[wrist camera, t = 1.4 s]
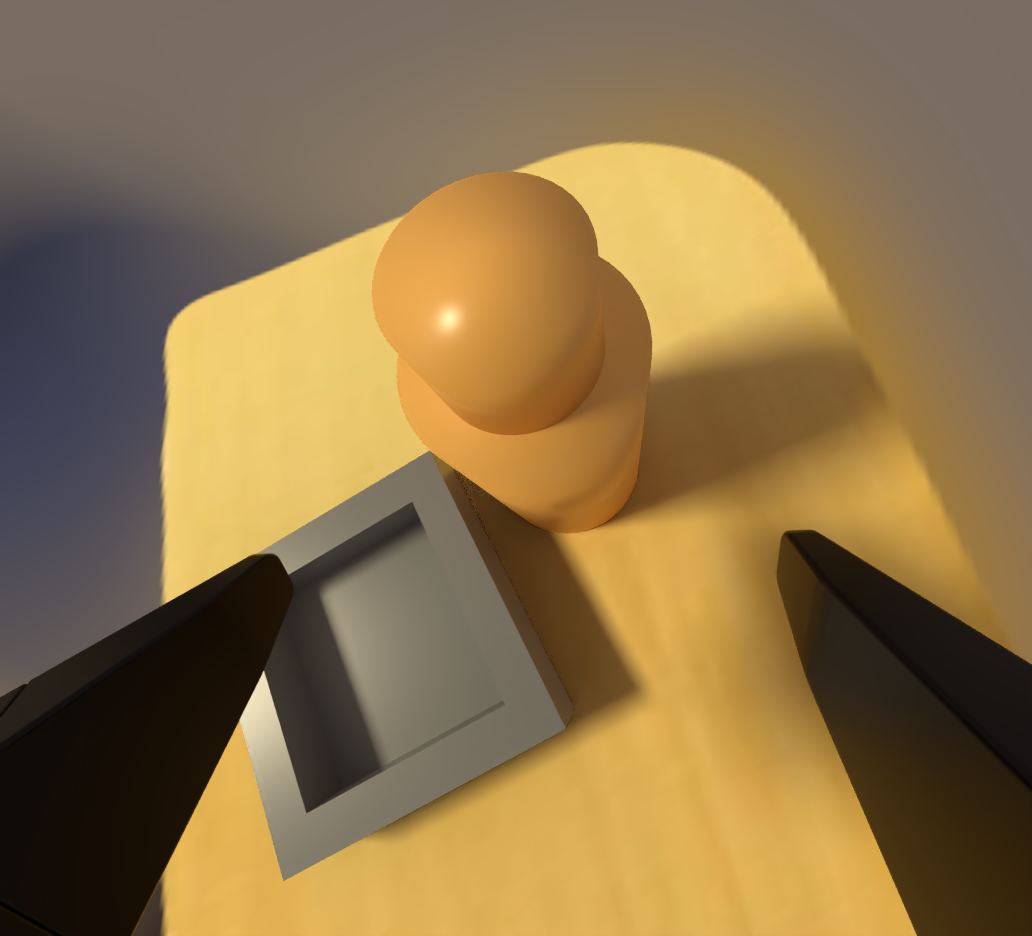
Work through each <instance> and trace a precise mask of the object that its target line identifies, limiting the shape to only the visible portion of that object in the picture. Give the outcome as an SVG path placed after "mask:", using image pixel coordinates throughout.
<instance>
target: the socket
mask: <svg viewBox="0 0 1032 936" xmlns="http://www.w3.org/2000/svg"><path fill="white" fill-rule="evenodd" d="M260 553H273V554H275V555H277V556H278V557H279V558H280V560H281V562H282V564H283V566H284V567H285V569H286V571H287V573H288V575H289V577H290V578H291V580H292V582H293V585H294V595H293V598H292V601H291V604H290V606H289V609H288V611H287V614H286V616H285V619H284V621H283V624H282V627H281V629H280V632H279V634H278V637H277V639H276V642H275V644H274V647H273V650H272V652H271V655H270V657H269V660H268V662H267V664H266V667H265V669H264V671H263V673H262V676H261V678H260V680H259V682H258V684H257V686H256V688H255V690H254V692H253V694H252V696H251V698H250V700H249V702H248V704H247V706H246V708H245V710H244V712H243V714H242V716H241V718H240V722H241V726H242V730H243V733H244V737H245V741H246V744H247V748H248V752H249V755H250V759H251V763H252V766H253V770H254V774H255V777H256V781H257V785H258V789H259V792H260V796H261V800H262V803H263V807H264V811H265V814H266V818H267V822H268V825H269V829H270V833H271V837H272V840H273V844H274V848H275V851H276V855H277V859H278V862H279V866H280V870H281V873H282V877H283V881H285V880H286V879H288V878H290V877H292V876H294V875H296V874H298V873H299V872H301V871H303V870H305V869H307V868H309V867H310V866H312V865H314V864H316V863H318V862H320V861H322V860H323V859H325V858H327V857H329V856H331V855H333V854H335V853H336V852H338V851H340V850H342V849H344V848H346V847H348V846H349V845H351V844H353V843H355V842H357V841H359V840H361V839H362V838H364V837H366V836H368V835H370V834H372V833H374V832H375V831H377V830H379V829H381V828H383V827H385V826H387V825H388V824H390V823H392V822H394V821H396V820H398V819H400V818H401V817H403V816H405V815H407V814H409V813H411V812H413V811H414V810H416V809H418V808H420V807H422V806H424V805H426V804H427V803H429V802H431V801H433V800H435V799H437V798H439V797H440V796H442V795H444V794H446V793H448V792H450V791H452V790H453V789H455V788H457V787H459V786H461V785H463V784H464V783H466V782H468V781H470V780H472V779H474V778H476V777H477V776H479V775H481V774H483V773H485V772H487V771H489V770H490V769H492V768H494V767H496V766H498V765H500V764H502V763H503V762H505V761H507V760H509V759H511V758H513V757H515V756H516V755H518V754H520V753H522V752H524V751H526V750H528V749H529V748H531V747H533V746H535V745H537V744H539V743H541V742H542V741H544V740H546V739H548V738H550V737H552V736H554V735H555V734H557V733H559V732H561V731H563V730H565V729H566V728H567V725H568V723H569V720H570V718H571V716H572V713H573V711H574V709H575V708H574V706H573V704H572V702H571V700H570V698H569V696H568V694H567V692H566V690H565V688H564V686H563V684H562V682H561V680H560V678H559V676H558V675H557V673H556V671H555V669H554V667H553V665H552V663H551V661H550V659H549V657H548V655H547V653H546V651H545V649H544V647H543V645H542V643H541V641H540V639H539V637H538V635H537V633H536V631H535V629H534V627H533V625H532V623H531V621H530V619H529V617H528V615H527V613H526V611H525V609H524V607H523V605H522V603H521V601H520V599H519V597H518V595H517V593H516V591H515V589H514V587H513V585H512V583H511V581H510V579H509V577H508V575H507V573H506V571H505V569H504V567H503V565H502V563H501V561H500V559H499V557H498V555H497V553H496V552H495V550H494V548H493V546H492V544H491V542H490V540H489V538H488V536H487V534H486V532H485V530H484V528H483V526H482V524H481V522H480V520H479V518H478V516H477V514H476V512H475V510H474V508H473V506H472V504H471V502H470V500H469V498H468V496H467V494H466V492H465V490H464V488H463V486H462V484H461V482H460V480H459V478H458V476H457V474H456V472H455V470H454V468H453V467H451V466H450V465H448V464H447V463H446V462H444V461H443V460H441V459H440V458H439V457H437V456H436V455H435V454H433V453H432V452H430V451H428V452H427V453H425V454H423V455H422V456H420V457H418V458H416V459H415V460H413V461H411V462H410V463H408V464H406V465H405V466H403V467H401V468H400V469H398V470H396V471H395V472H393V473H391V474H390V475H388V476H386V477H385V478H383V479H381V480H380V481H378V482H376V483H375V484H373V485H371V486H370V487H368V488H366V489H365V490H363V491H361V492H360V493H358V494H356V495H355V496H353V497H351V498H349V499H348V500H346V501H344V502H343V503H341V504H339V505H338V506H336V507H334V508H333V509H331V510H329V511H328V512H326V513H324V514H323V515H321V516H319V517H318V518H316V519H314V520H313V521H311V522H309V523H308V524H306V525H304V526H303V527H301V528H299V529H298V530H296V531H294V532H293V533H291V534H289V535H287V536H286V537H284V538H282V539H281V540H279V541H277V542H276V543H274V544H272V545H271V546H269V547H267V548H266V549H264V550H262V551H261V552H259V553H257V554H260Z"/></svg>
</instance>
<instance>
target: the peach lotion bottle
mask: <svg viewBox="0 0 1032 936" xmlns="http://www.w3.org/2000/svg"><path fill="white" fill-rule="evenodd" d="M372 301H373V309H374V313H375V317H376V320H377V323H378V325H379V328H380V330H381V332H382V333H383V335H384V337H385V338H386V340H387V342H388V343H389V344H390V345H391V346H392V347H393V349H394V350H395V351H396V352H397V353H398V354H399V355H398V361H397V384H398V393H399V397H400V401H401V405H402V408H403V410H404V413H405V415H406V418H407V420H408V422H409V424H410V425H411V427H412V429H413V430H414V432H415V433H416V435H417V436H418V437H419V438H420V440H421V441H422V442H423V443H424V445H426V446H427V447H428V448H429V449H430V450H431V451H432V452H433V453H434V454H435V455H437V456H438V457H439V458H441V459H442V460H444V461H445V462H446V463H448V464H449V465H450V466H452V467H453V468H455V469H456V470H457V471H459V472H460V473H461V474H463V475H464V476H466V477H467V478H468V479H470V480H471V481H473V482H474V483H475V484H477V485H478V486H479V487H481V488H482V489H484V490H485V491H486V492H488V493H489V494H491V495H492V496H493V497H495V498H496V499H497V500H499V501H500V502H502V503H503V504H504V505H506V506H507V507H508V508H510V509H511V510H513V511H514V512H515V513H517V514H518V515H520V516H521V517H522V518H524V519H525V520H527V521H528V522H529V523H531V524H533V525H535V526H537V527H539V528H541V529H544V530H547V531H551V532H556V533H578V532H583V531H587V530H590V529H593V528H595V527H598V526H600V525H602V524H604V523H605V522H607V521H608V520H610V519H611V518H612V517H613V516H615V515H616V514H617V513H618V512H619V511H620V510H621V509H622V507H623V506H624V505H625V504H626V502H627V501H628V499H629V498H630V496H631V494H632V492H633V489H634V487H635V484H636V481H637V475H638V469H639V461H640V452H641V444H642V435H643V427H644V418H645V410H646V402H647V393H648V385H649V376H650V368H651V359H652V337H651V329H650V324H649V320H648V317H647V313H646V310H645V308H644V306H643V304H642V301H641V299H640V297H639V295H638V294H637V292H636V291H635V289H634V288H633V286H632V285H631V283H630V282H629V281H628V280H627V279H626V278H625V277H624V276H623V274H622V273H621V272H620V271H618V270H617V269H616V268H615V267H614V266H612V265H611V264H610V263H609V262H607V261H605V260H604V259H602V258H601V257H599V256H598V247H597V239H596V235H595V232H594V228H593V226H592V223H591V221H590V219H589V216H588V215H587V213H586V212H585V210H584V209H583V207H582V206H581V205H580V203H579V202H578V201H577V200H576V199H575V198H574V197H573V196H572V195H571V194H570V193H568V192H567V191H566V190H565V189H563V188H562V187H560V186H558V185H557V184H555V183H553V182H551V181H549V180H546V179H544V178H541V177H538V176H535V175H531V174H527V173H519V172H492V173H485V174H480V175H475V176H471V177H468V178H465V179H462V180H459V181H456V182H454V183H452V184H449V185H447V186H445V187H443V188H441V189H440V190H438V191H436V192H434V193H433V194H431V195H430V196H429V197H427V198H425V199H424V200H423V201H421V202H420V203H419V204H418V205H416V207H414V208H413V209H412V210H411V211H410V212H409V213H408V214H407V215H406V216H405V217H404V218H403V219H402V220H401V221H400V222H399V224H398V225H397V226H396V228H395V229H394V230H393V232H392V233H391V235H390V236H389V238H388V240H387V241H386V243H385V245H384V247H383V249H382V251H381V253H380V256H379V258H378V261H377V264H376V268H375V272H374V277H373V284H372Z"/></svg>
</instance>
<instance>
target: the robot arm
mask: <svg viewBox="0 0 1032 936" xmlns="http://www.w3.org/2000/svg"><path fill="white" fill-rule="evenodd" d="M777 582H778V586H779V590H780V593H781V596H782V600H783V603H784V606H785V610H786V613H787V616H788V620H789V623H790V626H791V630H792V633H793V636H794V640H795V643H796V646H797V650H798V653H799V656H800V660H801V663H802V666H803V669H804V672H805V675H806V678H807V681H808V683H809V686H810V688H811V691H812V693H813V696H814V698H815V700H816V703H817V705H818V707H819V710H820V712H821V714H822V716H823V719H824V721H825V723H826V726H827V728H828V730H829V733H830V735H831V737H832V740H833V742H834V744H835V747H836V749H837V751H838V754H839V756H840V758H841V760H842V763H843V765H844V767H845V770H846V772H847V774H848V777H849V779H850V781H851V784H852V786H853V788H854V791H855V793H856V795H857V798H858V800H859V802H860V805H861V807H862V809H863V811H864V814H865V816H866V818H867V821H868V823H869V825H870V828H871V830H872V832H873V835H874V837H875V839H876V842H877V844H878V846H879V849H880V851H881V853H882V855H883V858H884V860H885V862H886V865H887V867H888V869H889V872H890V874H891V876H892V879H893V881H894V883H895V886H896V888H897V890H898V893H899V895H900V897H901V899H902V902H903V904H904V906H905V909H906V911H907V913H908V916H909V918H910V920H911V923H912V925H913V927H914V930H915V932H916V934H917V936H1032V664H1030V663H1028V662H1027V661H1025V660H1024V659H1022V658H1020V657H1019V656H1017V655H1015V654H1014V653H1012V652H1011V651H1009V650H1007V649H1006V648H1004V647H1003V646H1001V645H999V644H998V643H996V642H994V641H993V640H991V639H990V638H988V637H986V636H985V635H983V634H982V633H980V632H978V631H977V630H975V629H973V628H972V627H970V626H969V625H967V624H965V623H964V622H962V621H961V620H959V619H957V618H956V617H954V616H952V615H951V614H949V613H948V612H946V611H944V610H943V609H941V608H940V607H938V606H936V605H935V604H933V603H931V602H930V601H928V600H927V599H925V598H923V597H922V596H920V595H918V594H917V593H915V592H914V591H912V590H910V589H909V588H907V587H906V586H904V585H902V584H901V583H899V582H897V581H896V580H894V579H893V578H891V577H889V576H888V575H886V574H885V573H883V572H881V571H880V570H878V569H876V568H875V567H873V566H872V565H870V564H868V563H867V562H865V561H864V560H862V559H860V558H859V557H857V556H855V555H854V554H852V553H851V552H849V551H847V550H846V549H844V548H843V547H841V546H839V545H838V544H836V543H834V542H833V541H831V540H830V539H828V538H826V537H825V536H823V535H822V534H820V533H818V532H816V531H814V530H791V531H786V532H785V533H783V535H782V537H781V543H780V550H779V557H778V565H777ZM293 595H294V585H293V582H292V580H291V578H290V577H289V575H288V573H287V571H286V569H285V567H284V566H283V564H282V562H281V560H280V558H279V557H278V556H277V555H275V554H273V553H260V554H253V555H251V556H249V557H247V558H245V559H243V560H242V561H240V562H238V563H236V564H235V565H233V566H231V567H229V568H228V569H226V570H224V571H222V572H220V573H219V574H217V575H215V576H213V577H212V578H210V579H208V580H206V581H205V582H203V583H201V584H199V585H198V586H196V587H194V588H192V589H191V590H189V591H187V592H185V593H183V594H182V595H180V596H178V597H176V598H175V599H173V600H171V601H169V602H168V603H166V604H164V605H162V606H161V607H159V608H157V609H155V610H153V611H152V612H150V613H148V614H146V615H145V616H143V617H141V618H140V619H138V620H136V621H134V622H132V623H131V624H129V625H127V626H125V627H124V628H122V629H120V630H118V631H116V632H115V633H113V634H111V635H109V636H108V637H106V638H104V639H102V640H101V641H99V642H97V643H95V644H94V645H92V646H90V647H88V648H87V649H85V650H83V651H81V652H79V653H78V654H76V655H74V656H72V657H71V658H69V659H67V660H65V661H64V662H62V663H60V664H58V665H57V666H55V667H53V668H51V669H50V670H48V671H46V672H44V673H43V674H41V675H39V676H37V677H36V678H34V679H32V680H31V681H30V682H29V683H28V684H23V685H21V686H19V687H18V688H16V689H14V690H12V691H11V692H9V693H7V694H5V695H4V696H2V697H0V936H132V935H133V933H134V931H135V929H136V926H137V925H138V922H139V920H140V919H141V917H142V915H143V913H144V911H145V909H146V906H147V905H148V903H149V901H150V899H151V897H152V894H153V893H154V890H155V888H156V886H157V885H158V883H159V881H160V879H161V876H162V874H163V872H164V870H165V868H166V866H167V864H168V862H169V860H170V858H171V856H172V854H173V852H174V850H175V848H176V846H177V844H178V842H179V840H180V838H181V836H182V834H183V832H184V830H185V828H186V826H187V824H188V822H189V820H190V818H191V816H192V814H193V812H194V810H195V808H196V806H197V804H198V802H199V800H200V798H201V796H202V794H203V792H204V790H205V788H206V786H207V784H208V782H209V780H210V778H211V776H212V774H213V772H214V770H215V768H216V766H217V764H218V762H219V760H220V758H221V756H222V754H223V752H224V750H225V748H226V746H227V744H228V742H229V740H230V738H231V736H232V734H233V732H234V730H235V728H236V726H237V724H238V722H239V720H240V718H241V716H242V714H243V712H244V710H245V708H246V706H247V704H248V702H249V700H250V698H251V696H252V694H253V692H254V690H255V688H256V686H257V684H258V682H259V680H260V678H261V676H262V673H263V671H264V669H265V667H266V664H267V662H268V660H269V657H270V655H271V652H272V650H273V647H274V644H275V642H276V639H277V637H278V634H279V632H280V629H281V627H282V624H283V621H284V619H285V616H286V614H287V611H288V609H289V606H290V604H291V601H292V598H293Z"/></svg>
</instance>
